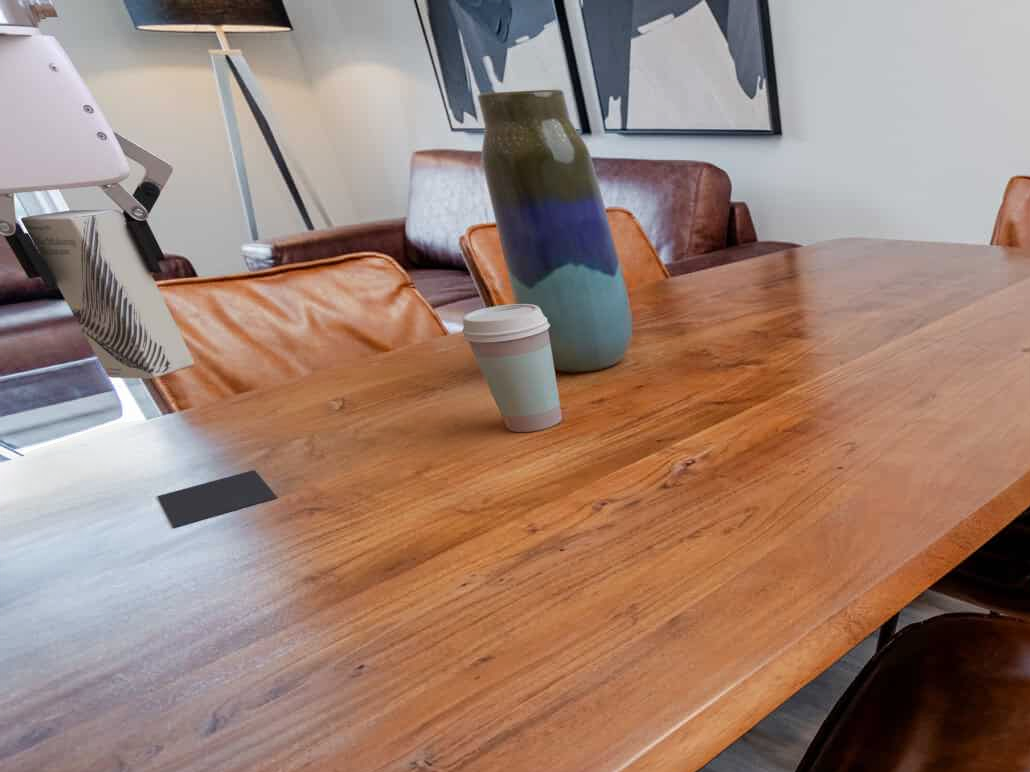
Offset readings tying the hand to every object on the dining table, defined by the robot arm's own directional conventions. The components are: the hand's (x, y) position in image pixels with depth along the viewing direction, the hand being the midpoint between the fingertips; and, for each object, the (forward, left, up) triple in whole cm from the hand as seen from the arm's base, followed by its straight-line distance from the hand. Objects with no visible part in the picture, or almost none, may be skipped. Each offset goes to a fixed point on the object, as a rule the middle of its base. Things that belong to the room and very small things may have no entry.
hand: (103, 276), depth 68 cm
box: (0, 0, -8) cm, 8 cm away
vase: (+44, +11, -20) cm, 49 cm away
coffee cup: (+29, -6, -20) cm, 35 cm away
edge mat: (0, -1, -20) cm, 20 cm away
